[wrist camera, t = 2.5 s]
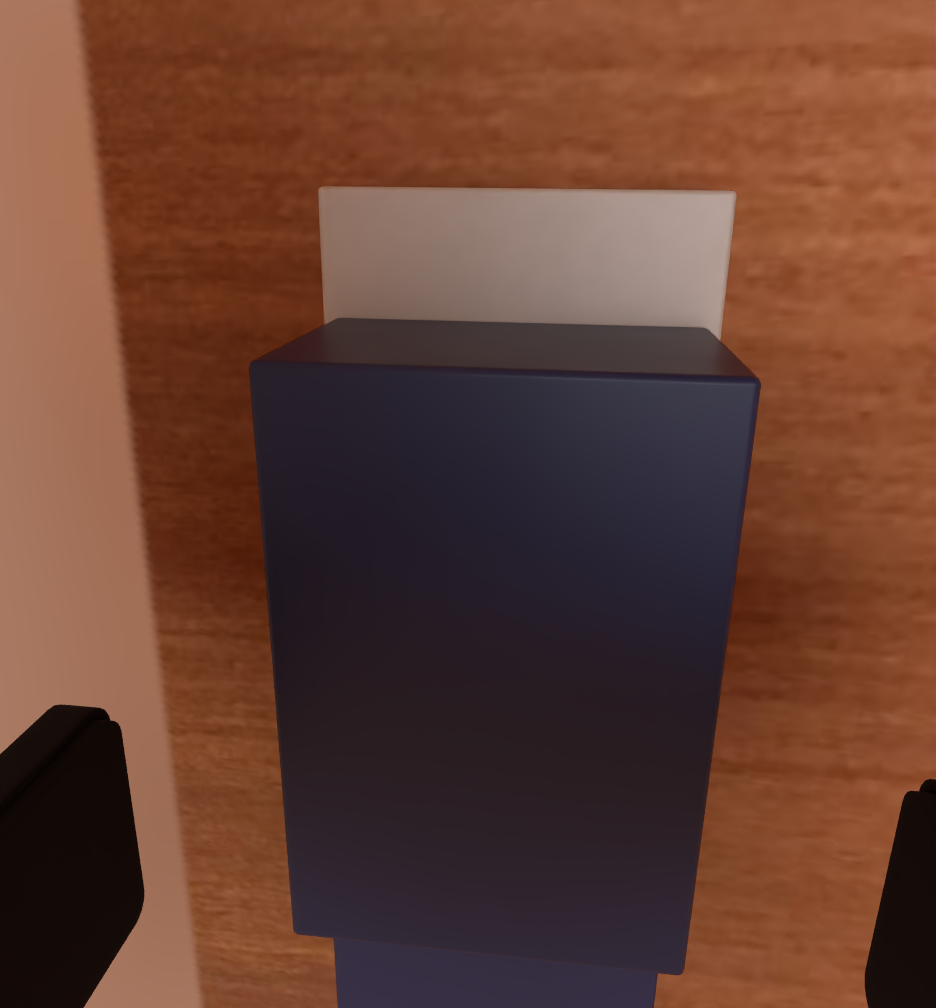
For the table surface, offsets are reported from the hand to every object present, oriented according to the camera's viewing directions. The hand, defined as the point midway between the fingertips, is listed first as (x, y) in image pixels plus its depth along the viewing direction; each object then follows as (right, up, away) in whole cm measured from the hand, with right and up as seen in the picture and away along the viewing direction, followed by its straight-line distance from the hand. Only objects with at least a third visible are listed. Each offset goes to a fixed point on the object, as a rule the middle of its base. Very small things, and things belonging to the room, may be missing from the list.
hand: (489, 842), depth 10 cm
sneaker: (+1, +2, +7) cm, 7 cm away
